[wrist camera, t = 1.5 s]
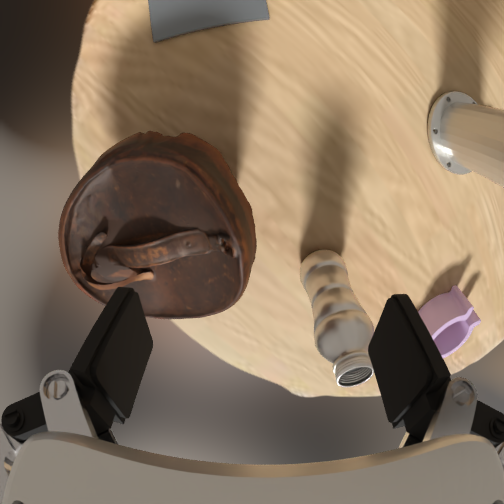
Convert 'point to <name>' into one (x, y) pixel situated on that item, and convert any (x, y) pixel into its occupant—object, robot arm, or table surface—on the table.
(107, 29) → the table surface
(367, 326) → the plastic bottle
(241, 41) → the table surface
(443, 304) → the clip
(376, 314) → the table surface
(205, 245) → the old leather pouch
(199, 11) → the mat
